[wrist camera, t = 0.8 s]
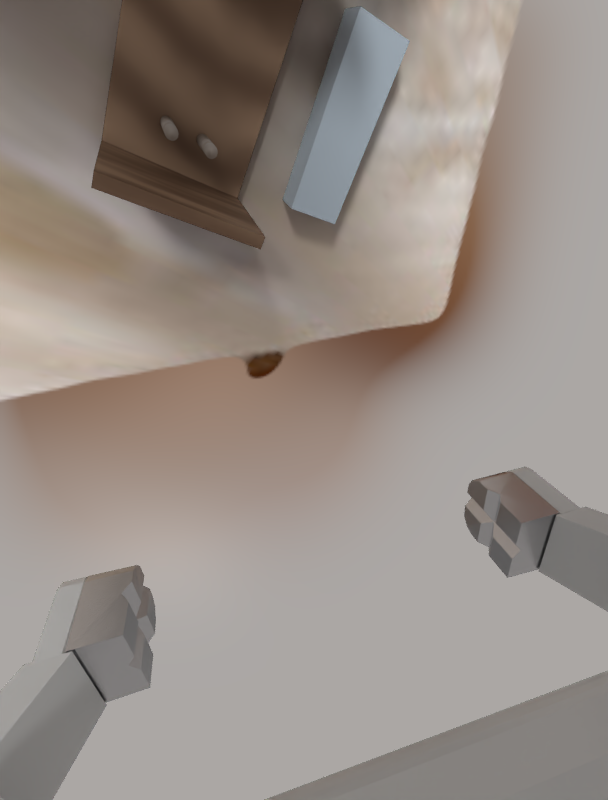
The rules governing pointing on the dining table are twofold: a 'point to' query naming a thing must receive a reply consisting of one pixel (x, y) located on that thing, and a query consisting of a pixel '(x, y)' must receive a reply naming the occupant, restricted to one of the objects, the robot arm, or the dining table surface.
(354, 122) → the shelf board
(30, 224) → the dining table surface
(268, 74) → the shelf rack
